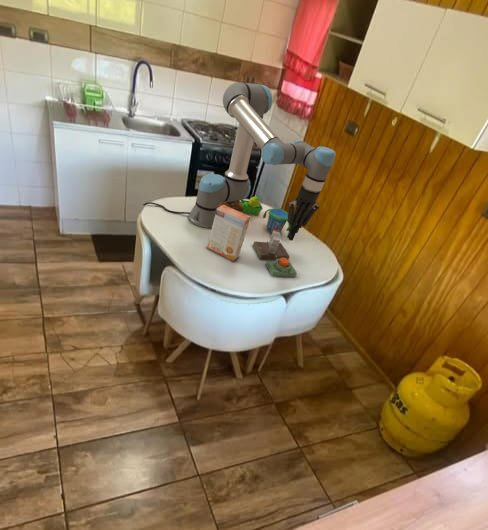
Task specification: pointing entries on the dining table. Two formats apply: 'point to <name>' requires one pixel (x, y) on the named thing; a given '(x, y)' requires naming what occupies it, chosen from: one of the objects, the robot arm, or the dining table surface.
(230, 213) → the cracker box
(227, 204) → the bread
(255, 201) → the fruit basket
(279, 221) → the snack cup
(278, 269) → the button housing
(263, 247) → the brown flat block
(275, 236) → the tap lever
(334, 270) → the dining table surface
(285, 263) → the button
